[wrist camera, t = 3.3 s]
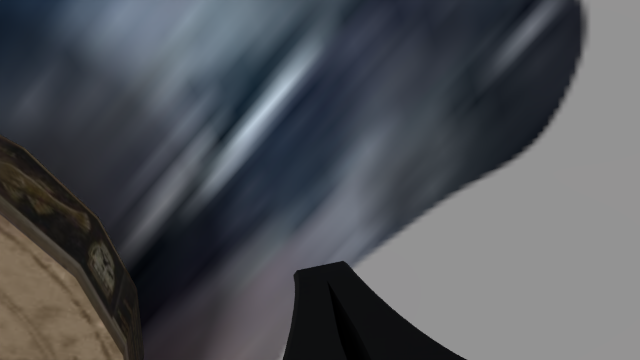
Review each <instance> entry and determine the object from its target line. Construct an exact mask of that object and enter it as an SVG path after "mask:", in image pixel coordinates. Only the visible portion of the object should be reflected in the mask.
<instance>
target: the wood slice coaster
mask: <svg viewBox="0 0 640 360" xmlns="http://www.w3.org/2000/svg"><path fill="white" fill-rule="evenodd" d="M143 358H144V350H143V341H142V332H141V323H140V313H139V304H138V295H137V288H136V286H135V284H134V282H133V281H132V279H131V277H130V275H129V273H128V271H127V270H126V268H125V266H124V264H123V262H122V260H121V258H120V257H119V255H118V253H117V251H116V249H115V247H114V246H113V244H112V242H111V240H110V238H109V236H108V235H107V233H106V231H105V229H104V227H103V225H102V223H101V222H100V220H99V218H98V217H97V216H96V215H95V214H94V213H93V212H92V211H91V210H90V209H89V208H88V207H86V206H85V205H84V204H83V203H82V202H81V201H80V200H79V199H78V198H77V197H76V196H75V195H74V194H73V193H72V192H71V191H70V190H68V189H67V188H66V187H65V186H64V185H63V184H62V183H61V182H60V181H59V180H58V179H57V178H56V177H55V176H54V175H53V174H51V173H50V172H49V171H48V170H47V169H46V168H45V167H44V166H43V165H42V164H41V163H40V162H39V161H38V160H37V159H36V158H35V157H33V156H32V155H31V154H30V153H29V152H28V151H27V150H26V149H25V148H24V147H22V146H20V145H18V144H16V143H14V142H12V141H11V140H9V139H7V138H5V137H3V136H1V135H0V360H143Z"/></svg>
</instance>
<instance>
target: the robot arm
mask: <svg viewBox="0 0 640 360" xmlns="http://www.w3.org/2000/svg"><path fill="white" fill-rule="evenodd" d="M294 282H295V301H294V310H293V316H292V323H291V328H290V333H289V337H288V341H287V345H286V349H285V353H284V357H283V360H466V359H464V358H463V357H460V356H459V355H457V354H455V353H453V352H452V351H450V350H449V349H447V348H445V347H443V346H442V345H440V344H439V343H437V342H436V341H434V340H433V339H431V338H430V337H428V336H427V335H425V334H424V333H423V332H421V331H420V330H419V329H417V328H416V327H414V326H413V325H412V324H411V323H409V322H408V321H407V320H406V319H404V318H403V317H402V316H400V315H399V314H398V313H397V312H396V311H395V310H393V309H392V308H391V307H390V306H389V305H388V304H386V303H385V302H384V301H383V300H382V299H381V298H380V297H379V296H377V294H375V292H374V291H372V290H371V289H370V288H369V287H368V286H367V285H366V284H365V283H364V282H363V281H362V279H361V278H360V277H359V276H357V274H356V273H355V272H354V271H353V270H352V269H351V267H350V266H349V265H348V264H347V263H346V262H344V261H340V262H336V263H331V264H326V265H321V266H316V267H311V268H307V269H302V270H297V271H296V273H295V274H294Z"/></svg>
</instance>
